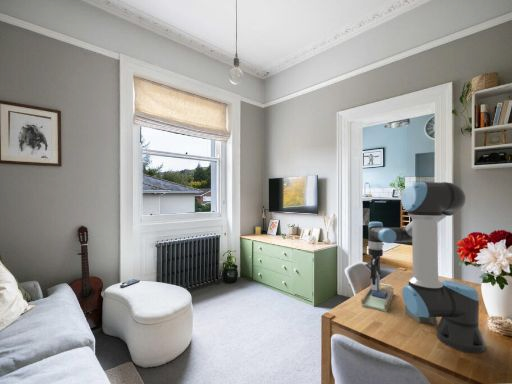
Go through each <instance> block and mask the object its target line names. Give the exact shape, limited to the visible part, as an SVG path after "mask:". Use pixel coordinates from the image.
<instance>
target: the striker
mask: <svg viewBox="0 0 512 384" xmlns="http://www.w3.org/2000/svg"><path fill="white" fill-rule="evenodd" d="M379 275H380V274H379ZM379 275H378V271H377V276H376V279H377V291H376V290H372V295H373V296H377V297H382V298H386V296H387V291H384V290H379Z"/></svg>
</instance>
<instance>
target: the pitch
mask: <svg viewBox="0 0 512 384" xmlns="http://www.w3.org/2000/svg"><path fill="white" fill-rule="evenodd" d="M382 286H385V287H386V288H387V290H388V291H387V296H386V298H382V297H377V296H373V295H372V290H371V285H370V286H369V287H368V288H367V290H366V292H365V293H364V295H363V296H362V298H361V303H360V304H361V306H362V307H364V308H365V307H366V308H370V309H374V310H378V311H382V312H386V313H387V312H388V309H389V306H390V304H391V301H392V298H393V296H394V287H393V286H392V285H391V284H387V283H382V282H380V286H379V290H380V288H381V287H382Z"/></svg>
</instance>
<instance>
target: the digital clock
mask: <svg viewBox="0 0 512 384" xmlns="http://www.w3.org/2000/svg"><path fill="white" fill-rule="evenodd" d="M404 314H405V315H406V316H408V317H410V318H411V319H412V320H415V321H416V322H418V323H419V324H420V323H421V324H422V323H430V324H432V325H438V319H437V318H438V317H427V318H426V317H418V316H415V315H413V314H412V313H411V312H410V311H409V310H408V308H407V307H406V305H404Z"/></svg>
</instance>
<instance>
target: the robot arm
mask: <svg viewBox="0 0 512 384" xmlns="http://www.w3.org/2000/svg"><path fill="white" fill-rule="evenodd" d="M466 199H467V198H466V194H465V192H464V190H463V189H462V188H461V187H460V186H458V184H455V183H452V182H447V181H444V182H443V181H442V182H439V181H438V182H435V181H433V182H430V181H426V182H425V181H419V182H411V183H409V184H407V185H406V186H405V187H404V189H403V191H402V194H401V197H400V203H401V205H402V208H403V209H404V210H405V211H407V216H408V217H409V218H411V221H410V222H408V224H407V225H405V226H403V227H384V224H383V222H381V221H370V222H369V223H368V226H367V227H368V229H367V231H368V244H367V245H368V255H369V256H371V259H370V276H369V278H370V280H371V281H370V282H371V283H370V286H371V290H376V291H377V279H376V276H377V271H378V275H379V286H380V283H381V282H380V275H381V274H382V272H381V257H382V256H383V254H384V250H383V249H384V248H383V246H385V245H384V244H385V243H387V244H393V243H394V242H395V243H398V242H399V243H400V242H401V243H412V245H411V246H412V276H411V277H409V278H408V284H407V285H404V286H403V287H402V290H401V294H402V295H401V296H402V299H403V302H404V304H405V305H406V307H407V308H408V310H409V311H410V312H411V313H412V314H413V315H415V316H418V317H426V318H427V317H436V318H440V320H439V323H438V324H437V325H438V326H437V328H436V337H437V339H438V340H439V341H441V342H442V343H443V344H445V345H446V346H449V347H450V348H453V349H455V350H458V351H461V352H465V353H472V354H473V353H474V354H480V353H483V352H485V350H486V349H485V347H486V346H485V345H486V344H485V340H484V338H483V335H482V333H481V332H482V331H481V330H480V326H479V324H480V323H479V321H480V320H479V314H480V313H479V312H480V311H479V310H480V308H479V307H480V299H479V292H478V290H477V289H476V288H474V287H472V286H470V285H468V284H465V283H461V282H457V281H452V280H442V281H440V280H439V250H438V249H439V247H438V246H439V243H438V242H439V241H438V240H439V235H438V234H439V233H438V224H439V222H441V221H442V220H444V219H445V218H446V217H450V216H454V215H455V214H456V213H458V212H459V211H460V210H461V209H463V207H464V205H465V204H466ZM405 305H404V306H405Z"/></svg>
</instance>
